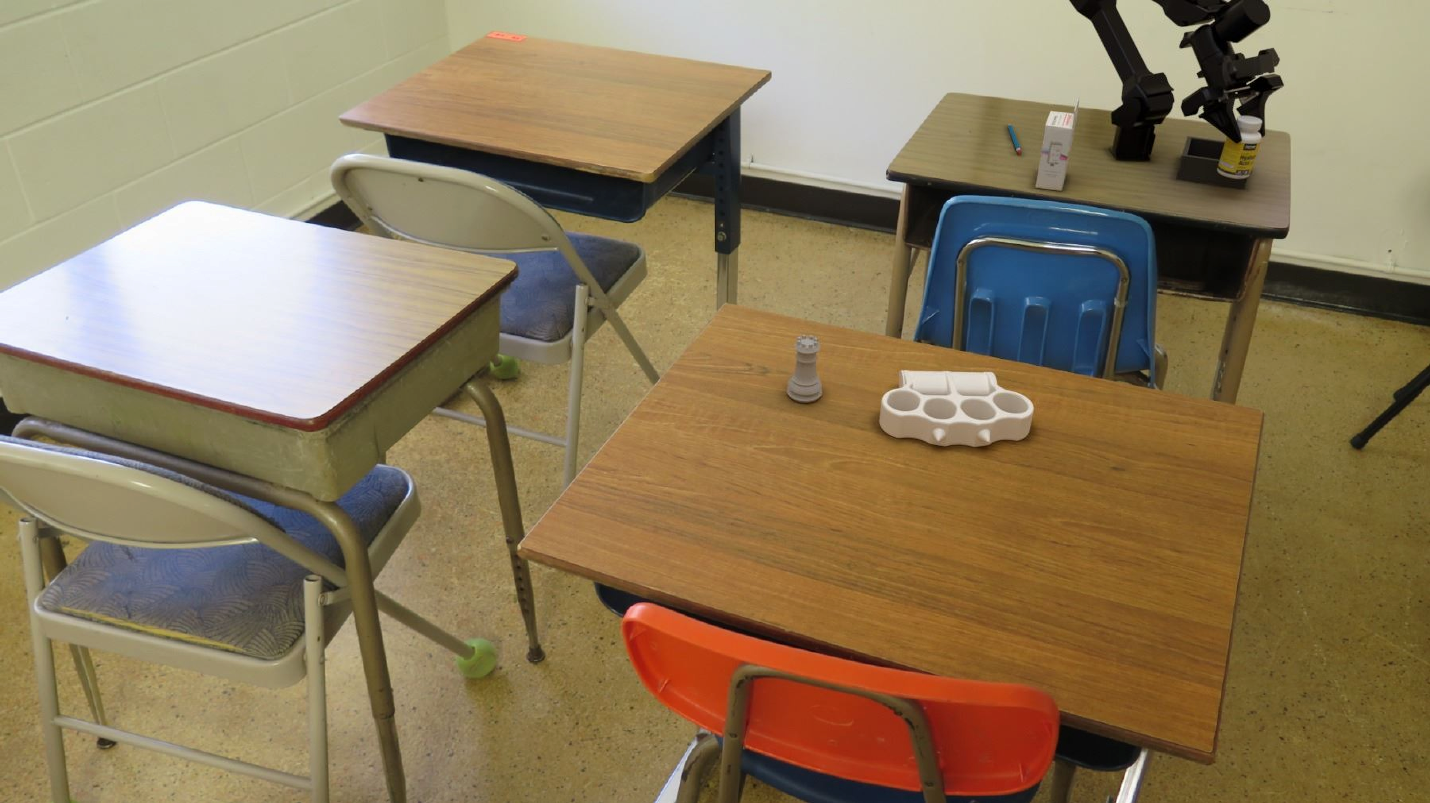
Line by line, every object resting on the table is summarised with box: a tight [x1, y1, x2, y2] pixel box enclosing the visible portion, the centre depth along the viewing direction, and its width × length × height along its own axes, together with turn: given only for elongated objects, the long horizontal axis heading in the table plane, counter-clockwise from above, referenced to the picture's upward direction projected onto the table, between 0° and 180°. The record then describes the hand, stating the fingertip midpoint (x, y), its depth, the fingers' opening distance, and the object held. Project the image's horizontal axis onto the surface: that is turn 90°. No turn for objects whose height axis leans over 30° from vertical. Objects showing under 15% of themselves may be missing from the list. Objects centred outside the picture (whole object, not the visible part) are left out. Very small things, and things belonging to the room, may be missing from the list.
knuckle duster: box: [879, 369, 1035, 448], centre depth 128 cm, size 3×18×15 cm
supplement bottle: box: [1217, 115, 1263, 179], centre depth 182 cm, size 5×5×10 cm
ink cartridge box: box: [1035, 97, 1080, 192], centre depth 189 cm, size 9×5×15 cm, turn 160°
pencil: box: [1007, 123, 1022, 155], centre depth 211 cm, size 1×17×1 cm, turn 174°
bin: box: [1176, 135, 1249, 190], centre depth 195 cm, size 12×12×4 cm
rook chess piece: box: [786, 334, 823, 404], centre depth 131 cm, size 4×4×8 cm
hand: (1250, 139), depth 180 cm, fingers closed on supplement bottle, 5 cm apart
